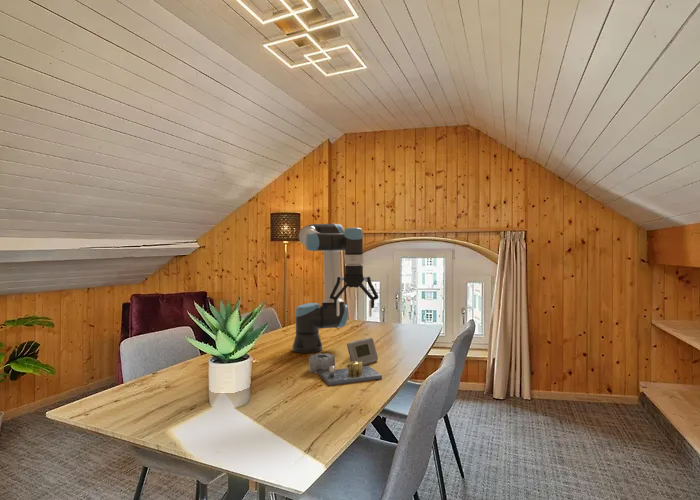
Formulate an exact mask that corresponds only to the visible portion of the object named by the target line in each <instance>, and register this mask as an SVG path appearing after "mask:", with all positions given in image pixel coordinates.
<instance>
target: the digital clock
mask: <svg viewBox="0 0 700 500" xmlns="http://www.w3.org/2000/svg"><path fill="white" fill-rule="evenodd" d="M346 347H347V351H348V354H349V362H350V361H351V362H355V361H358V362H363V366H368V365H370V364H373V363H374V362H375V363H376V362H377V361H378V360H379V357H378V352H377V349H376V345H375V342H374V339H373V337H371V336H370V337H367V338H360V339H358V340H357V339H356V340H353V341H350V342H347V344H346Z"/></svg>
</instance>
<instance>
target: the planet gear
mask: <svg viewBox="0 0 700 500" xmlns="http://www.w3.org/2000/svg"><path fill="white" fill-rule="evenodd" d="M330 366H335V367H336V356H335V355H334V354H330V353H321V352H319V353H317V352H316V353H314V354H310V356H309V357H308V371H309V373H314V375H319V371H328V370H329V367H330Z"/></svg>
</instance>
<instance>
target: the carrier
mask: <svg viewBox="0 0 700 500" xmlns="http://www.w3.org/2000/svg"><path fill="white" fill-rule="evenodd" d="M318 375H319V377H320V378H321V379H322V380H323V381H324V382H325V383H326V384H327V385H328V386H336V385H346V384H352V383H359V382H361V383H362V382H367V381H368V380H369V381H375V379H377V380H382V379H383V375H382V374H381V373H379V372H378V371H377V370H375V369H374V368H372V367H371V366H369V365H364V366H363V362H358V361H355V362H351V361H350V360H349V362H348V367H346V368H337V369H336V365H335V366H330V367H329V370H328V371H319V374H318ZM369 381H368V382H369Z"/></svg>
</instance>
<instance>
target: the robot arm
mask: <svg viewBox="0 0 700 500" xmlns="http://www.w3.org/2000/svg"><path fill="white" fill-rule="evenodd" d="M297 234H298V235H297V236H298V240H299V242H300V243H301V244H302V245H304V246H305V249H306V251H311V252H312V251H313V252H317V251H320V252H322V253H323V254H322V255H323V281H324V282H323V283H324V299H323V300H322V301H321V305H319V303H318V302H308V303H303V304H300V305H298V306H297V307H296V308H295V315H294V316H295V337H294V340H293V343H292V352H293V353H296V354H297V353H298V354H313V353H314V354H315V353H317V352H319V353H320V352H321V351H323V343H322V340H321V337H320V333H319V331H320V329H338V328H344V327H345V326H346V325H347V323H348V318H349V307H348V306H349V305H347V304H345V300H343V298H342V294H344V291H345V290H346V289H347V288H360V289H361V290H362V291H363V293H365V295H366V296H367V297H368V298H369V300H368V301H369V304H368V310H369V311H368V315H369V316H368V317H372V315H373V314H372V311H373V310H372V309H374V308H375V300H378V299H379V295H378V292H377V290H376V289H375V287H374V285H373V283H372V278H371V276H369V275H368V276H364V271H363V270H364V266H363V263H364V255H363V252H364V249H363V247H364V245H363V243H364V240H363V238H364V236H363V234H364V233H363V229H362V228H361V227H347V228H346V227H345V228H344V226H343V225H342V224H339V223H312V224H311V223H310V224H307V225H304V226H303V227H302V228H301V229H300V230H299V232H298V233H297ZM341 251H344V264H345V266H344V276H341V256H340V254H341ZM343 281H344V282H345V284H344V286H343V287H342V282H343ZM364 281H365V282H366V283H367V284H368V286H369V288H370V291H371V292H370V291H369V290H368V289H367V288H366V286H365V285H364V284H363V282H364ZM371 293H372V294H373V295H372V294H371Z"/></svg>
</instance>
